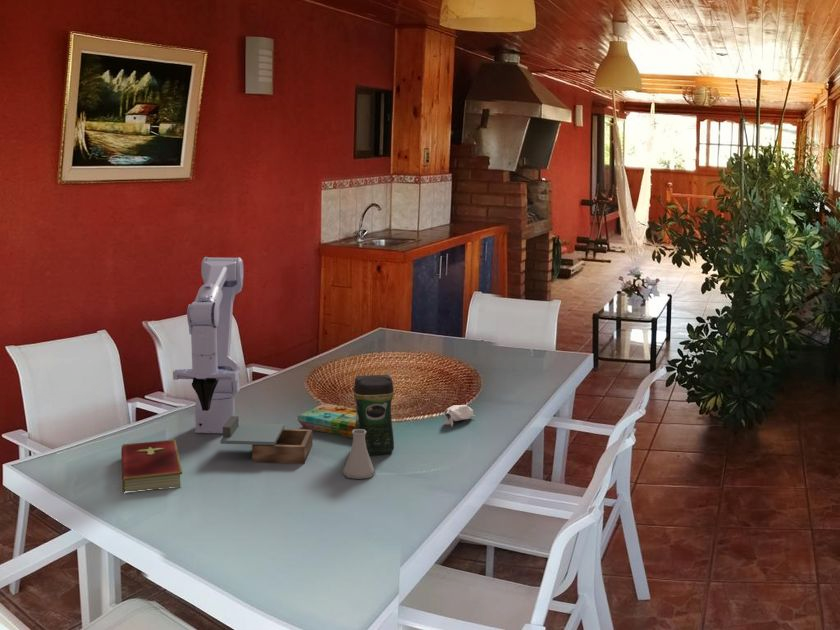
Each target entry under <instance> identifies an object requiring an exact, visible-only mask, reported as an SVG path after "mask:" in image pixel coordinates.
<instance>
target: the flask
mask: <svg viewBox="0 0 840 630" xmlns="http://www.w3.org/2000/svg"><path fill="white" fill-rule="evenodd" d="M352 434H353V438H352V444H351V445H352V446H351V448H350V452H349V454H348V457H347V460H346V463H345V465H344V468H343V471H342V474H343V475H344V476H345V477H346V479H347V478H348V479H355V480H362V479H369V478H373V476H374V475H375V474H376V471H375V468H374V465H373V462H372V459H371V457H370V455H369V454H368V451H367V448H366V442H365V434H366V430H364V429H355V430H353V431H352Z"/></svg>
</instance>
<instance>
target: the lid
mask: <svg viewBox="0 0 840 630" xmlns="http://www.w3.org/2000/svg"><path fill="white" fill-rule="evenodd" d="M283 429H285V423H283V424H282V423H258V422H257V423H255V422H253V423H249V422H240V421H239V416H236V415H235V416H231V417H230V418H229V420H228V421H227V422H226V423H225V425H224V426H223V433H222V437H221V439H220V444H221V445H251V446H252V445H275V444H276V442H277V440H278V438H279V436H280V435H281V433H282V431H283Z"/></svg>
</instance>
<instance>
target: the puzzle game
mask: <svg viewBox="0 0 840 630" xmlns="http://www.w3.org/2000/svg"><path fill="white" fill-rule="evenodd" d="M297 421H298V423H299V424H300V425H301V426H302V427H303V429H306V430H312V431H317V432H322V433H328V434H333V435H336V436H342V437H347V438H352V439H353V434H352V431H353V430H355V423H356V409H355V408H352V407H348V406H347V407H346V406H345V405H336V404H330V403H326V402H325V403H322V404H320V405H318V406H316V407H314V408H312V409H309V410H306V411H305V412H303V413H301V414H299V415H297Z"/></svg>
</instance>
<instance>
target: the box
mask: <svg viewBox="0 0 840 630" xmlns="http://www.w3.org/2000/svg"><path fill="white" fill-rule="evenodd" d="M312 447H313V430H312V429H307V428H303V429H302V428H298V429H297V428H284V429H283V431H282V433H281V435H280V436H279V438H278V440H277V442H276V444H275V445H251V452H252V453H251V455H252V458H251V460H252V463H265V464H266V463H270V464H271V463H272V464H273V463H275V464H276V463H277V464H300V465H301V464H305V463H306V462H307V459H308V457H309V455H310V452H311V449H312Z"/></svg>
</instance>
